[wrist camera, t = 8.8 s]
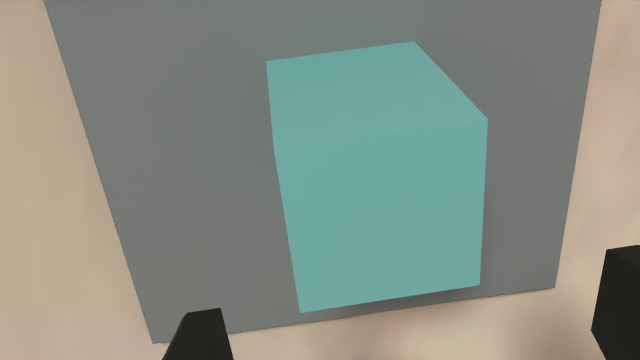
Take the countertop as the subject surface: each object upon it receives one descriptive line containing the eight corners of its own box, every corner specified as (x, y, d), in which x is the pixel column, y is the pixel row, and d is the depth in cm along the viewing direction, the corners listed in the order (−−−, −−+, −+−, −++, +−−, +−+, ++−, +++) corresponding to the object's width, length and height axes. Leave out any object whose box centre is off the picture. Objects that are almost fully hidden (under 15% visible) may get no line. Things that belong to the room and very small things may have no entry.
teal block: (414, 41, 17) (487, 118, 12) (417, 171, 19) (479, 285, 14) (266, 61, 17) (273, 149, 12) (285, 190, 19) (299, 313, 14)
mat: (621, -187, 15) (631, -188, 15) (549, 279, 23) (555, 287, 22) (9, -130, 14) (2, -130, 14) (154, 334, 22) (152, 344, 22)
